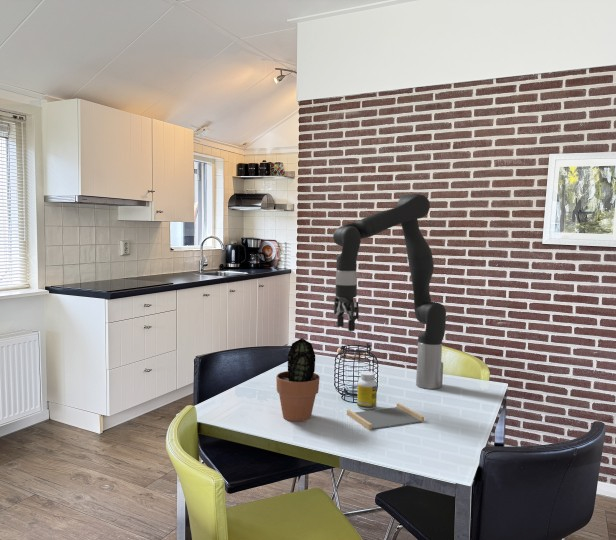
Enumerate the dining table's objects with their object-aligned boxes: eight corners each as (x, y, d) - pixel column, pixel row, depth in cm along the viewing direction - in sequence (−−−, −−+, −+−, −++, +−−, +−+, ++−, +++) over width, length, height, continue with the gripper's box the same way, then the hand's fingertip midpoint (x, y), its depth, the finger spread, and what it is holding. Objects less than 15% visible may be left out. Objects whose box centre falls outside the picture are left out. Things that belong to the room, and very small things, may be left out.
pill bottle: (370, 411, 169) (371, 377, 168) (353, 407, 173) (354, 373, 172) (379, 406, 174) (380, 373, 174) (363, 402, 178) (364, 369, 178)
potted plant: (266, 415, 163) (268, 337, 162) (300, 406, 172) (302, 333, 170) (293, 428, 153) (295, 345, 151) (327, 418, 161) (329, 340, 160)
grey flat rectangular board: (398, 407, 174) (399, 403, 174) (424, 421, 161) (424, 416, 161) (346, 414, 166) (346, 409, 165) (369, 429, 153) (369, 424, 153)
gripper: (365, 284, 175) (364, 331, 177) (346, 281, 189) (345, 324, 190) (346, 285, 173) (345, 333, 174) (327, 281, 186) (327, 326, 187)
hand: (345, 328), depth 182 cm, fingers open, 8 cm apart
